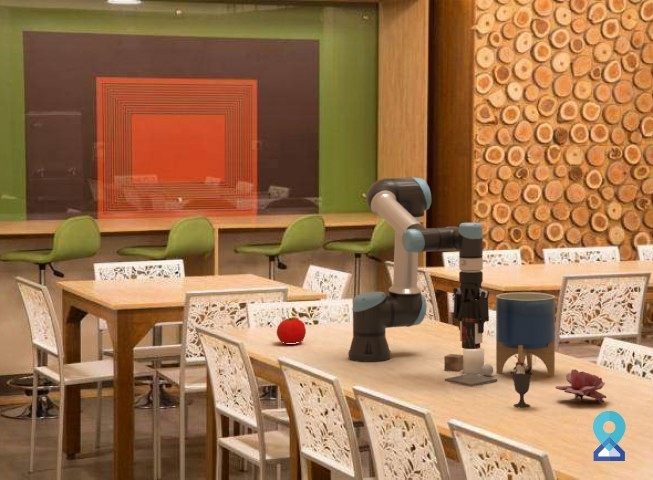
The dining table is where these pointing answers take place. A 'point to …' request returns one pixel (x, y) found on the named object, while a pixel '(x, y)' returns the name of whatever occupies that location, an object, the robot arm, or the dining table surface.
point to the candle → (473, 361)
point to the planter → (525, 328)
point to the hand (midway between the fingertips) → (471, 341)
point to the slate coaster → (471, 380)
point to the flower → (583, 385)
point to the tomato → (291, 331)
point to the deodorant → (468, 325)
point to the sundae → (521, 381)
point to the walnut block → (453, 362)
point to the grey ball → (487, 370)
